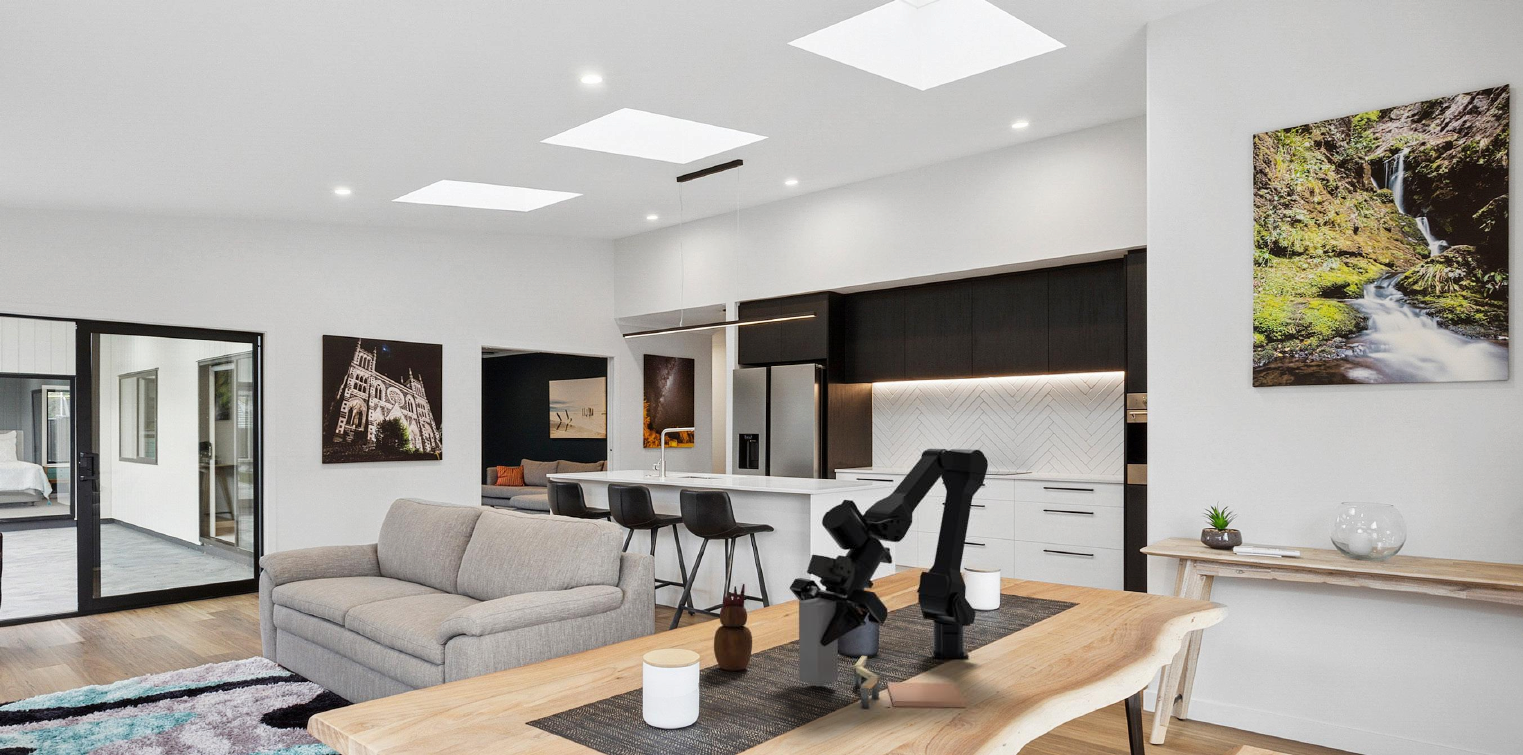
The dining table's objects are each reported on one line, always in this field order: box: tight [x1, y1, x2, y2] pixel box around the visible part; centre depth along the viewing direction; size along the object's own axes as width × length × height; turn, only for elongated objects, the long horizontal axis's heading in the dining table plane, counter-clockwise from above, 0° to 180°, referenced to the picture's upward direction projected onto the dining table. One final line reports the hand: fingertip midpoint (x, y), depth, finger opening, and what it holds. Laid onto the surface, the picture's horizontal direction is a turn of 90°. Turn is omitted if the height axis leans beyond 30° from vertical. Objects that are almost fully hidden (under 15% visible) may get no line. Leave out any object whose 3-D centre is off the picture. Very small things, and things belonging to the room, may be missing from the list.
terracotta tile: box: [887, 681, 966, 708], centre depth 143 cm, size 10×11×1 cm
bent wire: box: [853, 655, 880, 710], centre depth 146 cm, size 18×4×3 cm, turn 177°
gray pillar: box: [798, 598, 839, 687], centre depth 149 cm, size 4×4×13 cm
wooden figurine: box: [713, 583, 753, 672], centre depth 160 cm, size 7×6×15 cm
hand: (812, 641), depth 148 cm, fingers closed on gray pillar, 4 cm apart
